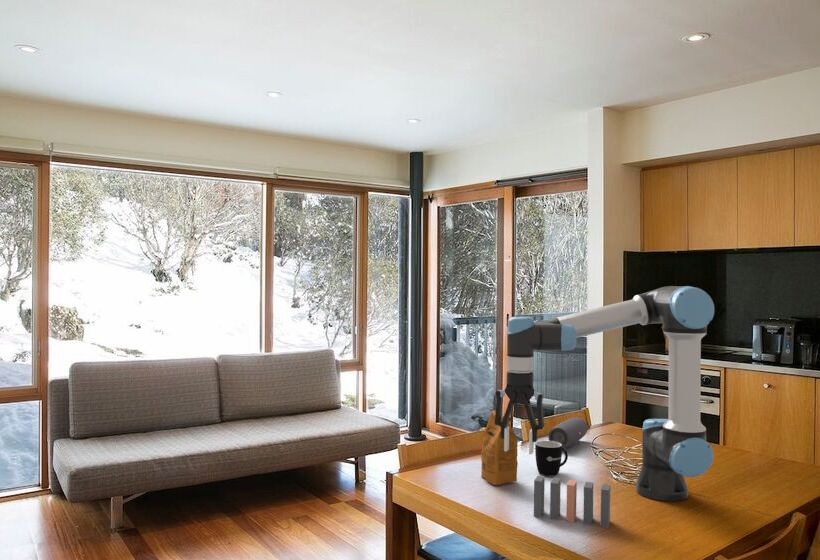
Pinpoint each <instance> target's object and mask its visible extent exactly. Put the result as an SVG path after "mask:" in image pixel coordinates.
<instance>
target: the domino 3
mask: <svg viewBox="0 0 820 560" xmlns="http://www.w3.org/2000/svg"><path fill="white" fill-rule="evenodd" d="M577 485H578V481H577V480H576V479H575V480H574V479H569V480H568V482H567V484H566V509H565V510H566V513H565V514H566V515H565V516H566V519H565V521H566V522H569V523H575V520H576V518H577V494H578V493H577Z"/></svg>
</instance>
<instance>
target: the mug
mask: <svg viewBox="0 0 820 560" xmlns="http://www.w3.org/2000/svg"><path fill="white" fill-rule="evenodd" d="M534 443H535V444H534V447H535V448H534V450H535V451H534V452H535V462H536V463H535V465H536V468H537V472H538V474H539V475H540V476H544V475H545V477H555V476H558V475H559V472H560V469H561V467H562V466H563V467H564V465H565V464H567V461H568V457H569V455H568V452H567V449H564V448H562V444H561V443H558V442H555V441H549V440H537V441H536V442H534ZM563 452H564V460H563V461H562V456H563V455H562V454H563Z"/></svg>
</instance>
